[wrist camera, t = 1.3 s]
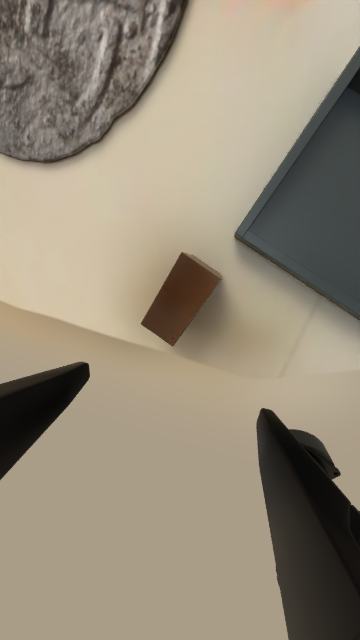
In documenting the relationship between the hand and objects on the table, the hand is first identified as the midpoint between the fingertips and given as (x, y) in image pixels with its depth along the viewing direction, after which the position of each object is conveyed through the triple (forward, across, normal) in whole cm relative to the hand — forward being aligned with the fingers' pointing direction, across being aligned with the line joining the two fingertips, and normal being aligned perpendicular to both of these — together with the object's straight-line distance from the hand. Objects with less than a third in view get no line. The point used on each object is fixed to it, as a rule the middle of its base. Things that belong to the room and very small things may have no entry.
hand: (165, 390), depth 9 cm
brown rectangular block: (+13, +2, -2) cm, 14 cm away
